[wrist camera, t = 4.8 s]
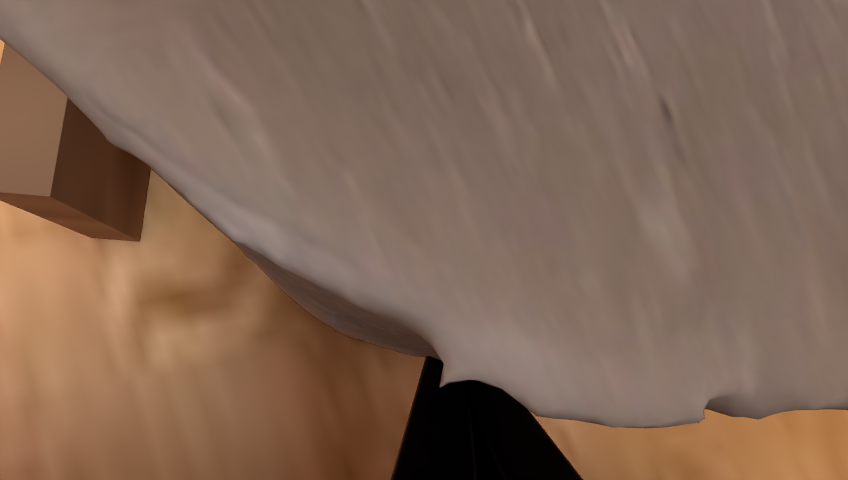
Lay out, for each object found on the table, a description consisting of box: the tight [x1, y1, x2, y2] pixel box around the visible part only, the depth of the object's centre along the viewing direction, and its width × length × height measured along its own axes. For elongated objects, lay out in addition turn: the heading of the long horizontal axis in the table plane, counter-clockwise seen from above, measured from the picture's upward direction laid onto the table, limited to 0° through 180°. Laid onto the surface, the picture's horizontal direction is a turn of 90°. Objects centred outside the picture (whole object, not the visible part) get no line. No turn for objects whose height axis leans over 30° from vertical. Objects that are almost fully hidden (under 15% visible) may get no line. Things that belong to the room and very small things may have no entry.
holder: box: [0, 43, 150, 241], centre depth 14 cm, size 10×16×5 cm, turn 87°
